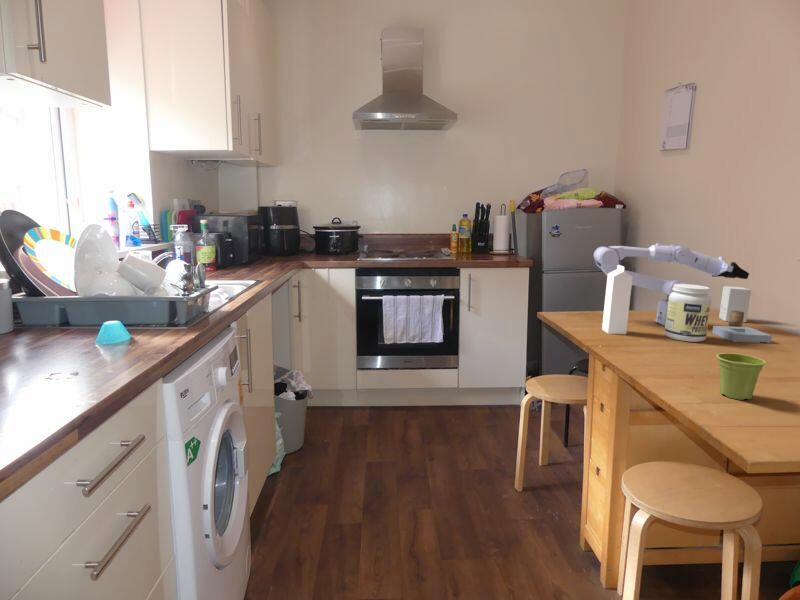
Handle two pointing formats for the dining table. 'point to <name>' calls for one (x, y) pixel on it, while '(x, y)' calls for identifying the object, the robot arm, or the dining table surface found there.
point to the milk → (617, 301)
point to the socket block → (741, 334)
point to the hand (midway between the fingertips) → (741, 275)
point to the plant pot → (738, 374)
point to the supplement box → (734, 301)
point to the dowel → (736, 318)
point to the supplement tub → (688, 313)
